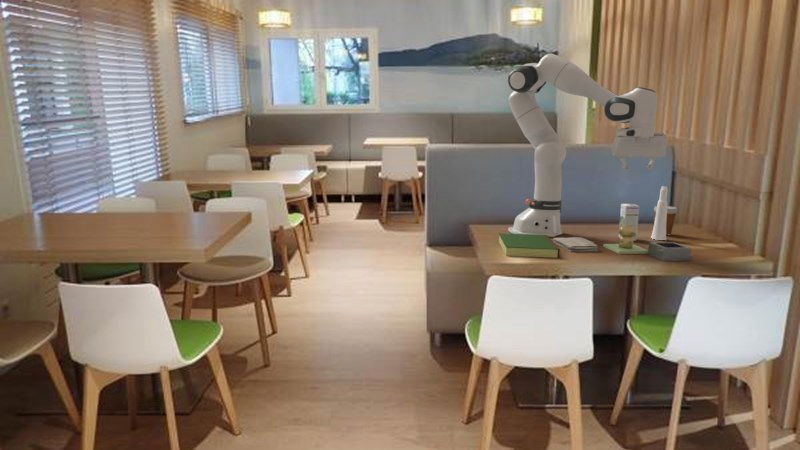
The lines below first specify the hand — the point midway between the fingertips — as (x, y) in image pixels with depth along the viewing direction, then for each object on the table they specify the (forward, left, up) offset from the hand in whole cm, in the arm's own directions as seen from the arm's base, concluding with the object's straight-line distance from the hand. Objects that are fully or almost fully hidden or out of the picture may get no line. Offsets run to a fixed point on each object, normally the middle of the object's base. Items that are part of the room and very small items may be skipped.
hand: (637, 169), depth 224 cm
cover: (-4, -5, -29) cm, 30 cm away
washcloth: (-22, +1, -31) cm, 38 cm away
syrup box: (+7, +14, -30) cm, 34 cm away
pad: (-4, -5, -30) cm, 31 cm away
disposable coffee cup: (+29, +24, -30) cm, 48 cm away
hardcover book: (-42, -2, -31) cm, 52 cm away
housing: (+6, -17, -30) cm, 35 cm away
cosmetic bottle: (+21, +14, -30) cm, 39 cm away
